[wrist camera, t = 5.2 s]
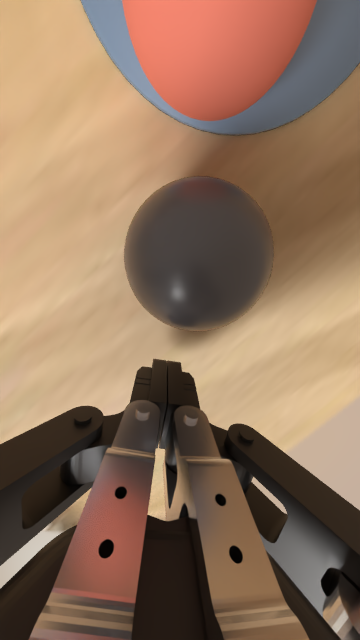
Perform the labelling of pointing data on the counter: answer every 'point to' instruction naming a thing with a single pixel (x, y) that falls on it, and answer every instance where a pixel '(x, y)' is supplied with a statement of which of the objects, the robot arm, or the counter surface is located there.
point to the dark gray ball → (198, 253)
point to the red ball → (215, 49)
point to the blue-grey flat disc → (288, 91)
